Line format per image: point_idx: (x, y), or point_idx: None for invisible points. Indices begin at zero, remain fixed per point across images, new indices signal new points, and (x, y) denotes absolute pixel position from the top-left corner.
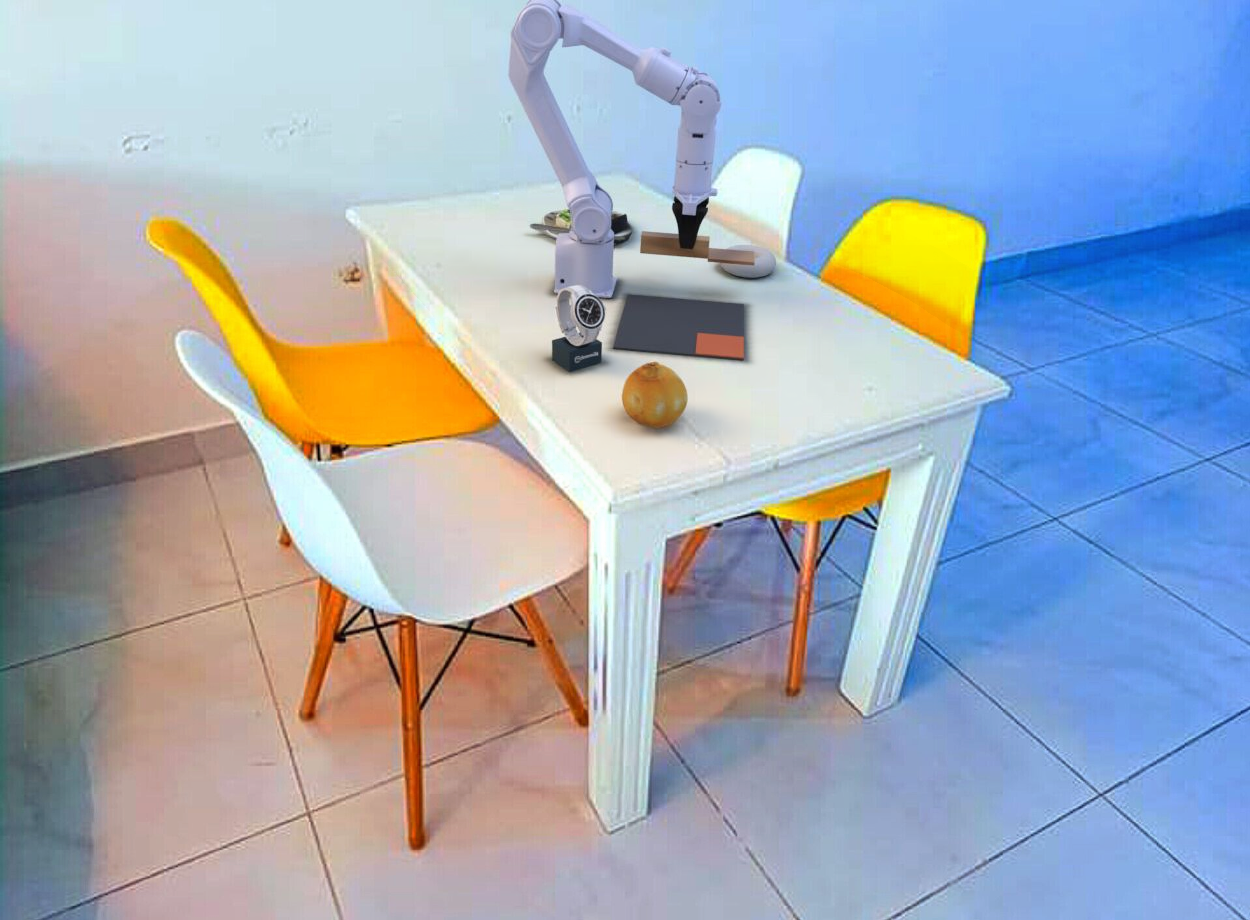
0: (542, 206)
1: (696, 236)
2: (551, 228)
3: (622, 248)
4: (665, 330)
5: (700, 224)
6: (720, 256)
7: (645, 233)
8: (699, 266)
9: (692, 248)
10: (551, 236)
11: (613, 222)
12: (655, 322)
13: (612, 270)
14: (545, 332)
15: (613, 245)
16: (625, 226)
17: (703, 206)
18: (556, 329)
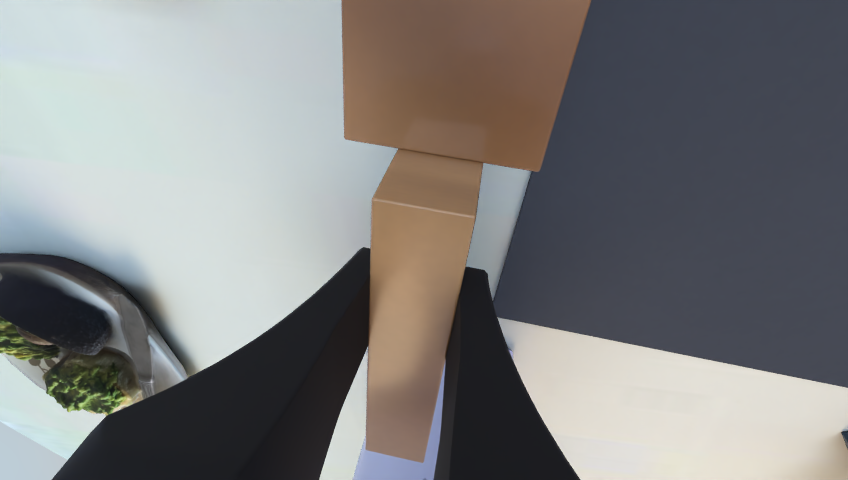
0: (7, 380)
1: (498, 327)
2: None
3: (145, 279)
4: (818, 263)
5: (540, 417)
6: (505, 82)
7: (395, 449)
8: (170, 60)
9: (487, 276)
10: None
11: (73, 338)
12: (732, 281)
13: (442, 387)
14: (694, 463)
15: (429, 467)
16: (43, 292)
17: (267, 458)
18: (683, 449)
